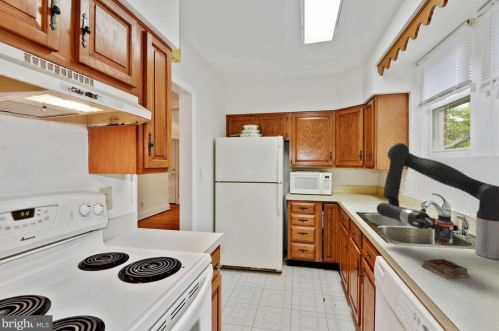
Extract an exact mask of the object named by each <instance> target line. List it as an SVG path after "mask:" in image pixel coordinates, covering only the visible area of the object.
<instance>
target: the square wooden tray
mask: <svg viewBox="0 0 499 331" xmlns="http://www.w3.org/2000/svg"><path fill="white" fill-rule="evenodd" d="M421 267H422V268H424V269H426V270H427V271H430V272H431V273H434V274H435V275H438V276H440V277H441V278H443V279H445V280H450V279H451V280H452V279H462V278H470V274H469V273H468V268H467V267H464V266H462V265H459V264H457V263H454V262H452V261H449V260H447V259H445V258H433V259H423V264H421Z"/></svg>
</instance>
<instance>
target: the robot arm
mask: <svg viewBox="0 0 499 331" xmlns="http://www.w3.org/2000/svg"><path fill="white" fill-rule="evenodd" d="M387 158H388V160H389V169H388V173H387V176H386V179H385V182H384V187H383V193H382V196H383V198H384V199H386V200H387V202H388V203H387V202H380V203H379V204H378V205H377V206H376V212H377V214H379V215H380V216H382V217H384V218H389V219H392V220H395V221H398V222H400V223H404V224H405V225H408V226H411V227H413V228H417V229H420V230H424V229H425V230H432V231H433V230H437V231H440V232H443V231H444V227H443V226H441V225H437V224H435V220H436V219H437V218H435V217H430V215H429V214H428V213H426V212H424V211H421V210H417V209H414V208H413V209H412V208H407V207H402V206H400V200H399V195H400V190H401V181H402V176H403V171H404V167H406V168H409V169H412V170H413V171H414V172H417V173H419V174H421V175H423V176H425V177H428V178H429V179H431V180H433V181H436V182H438V183H440V184H443V185H445V186H448V187H451V188H454V189H458V190H460V191H462V192H464V193H466V194H468V195H470V196H471V197H474V198H475V199H476V200H478V201H479V203H478V210H477V211H476V216H475V217H476V219H475V221H476V222H475V242H474V243H475V245H474V246H475V249H474V253H475V254H476V255H478V256H479V257H480V256H481V257H483V258H486V259H492V260H493V259H494V260H499V185H496V184H495V185H494V184H490V183H486V182H483V181H481V180H477V179H474V178H472V177H470V176H468V175H467V174H464V173H463V172H462V171H460V170H458V169H456V168H454V167H452V166H450V165H448V164H446V163H443V162H442V161H441V162H440V161H438V160H433V159H429V158H424V157H420V156H417V155H415V154H413V153H411V152H410V150H409V147H408V146H407V145H406V144H405V143H403V142H402V143H400V142H398V143H394V144H393V145H391V147H390V148H389V150H388V151H387ZM458 231H459V225H457V224H454V232H458Z"/></svg>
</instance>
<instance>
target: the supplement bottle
mask: <svg viewBox="0 0 499 331" xmlns="http://www.w3.org/2000/svg"><path fill="white" fill-rule="evenodd" d="M435 219H436V220H435V224H437V225H441V226H443V227H444V231H443V232H440V231H437V230H434V229H433V230H434V233H433V234H434V235H433V236H434V237H433V240H434V241H433V242H435V243H436V244H438V245H442V246H452V245H453V244H454V232H455V231H454V225H455V223H454V221H452V216H451V215H449V214H443V213H441V214H439V213H438V215H437V218H435Z"/></svg>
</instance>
